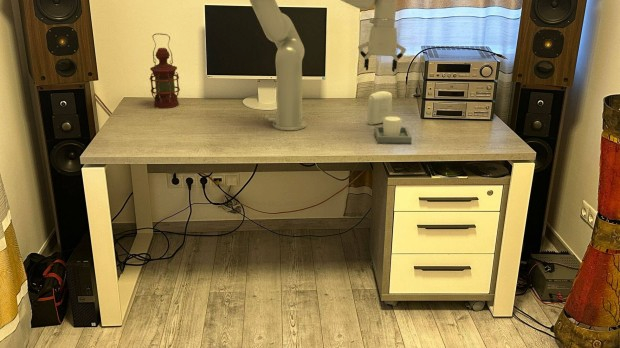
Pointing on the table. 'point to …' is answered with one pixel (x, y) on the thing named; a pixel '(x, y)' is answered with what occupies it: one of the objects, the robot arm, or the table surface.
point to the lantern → (164, 79)
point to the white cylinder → (392, 125)
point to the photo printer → (379, 107)
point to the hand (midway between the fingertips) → (380, 70)
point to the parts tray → (393, 137)
